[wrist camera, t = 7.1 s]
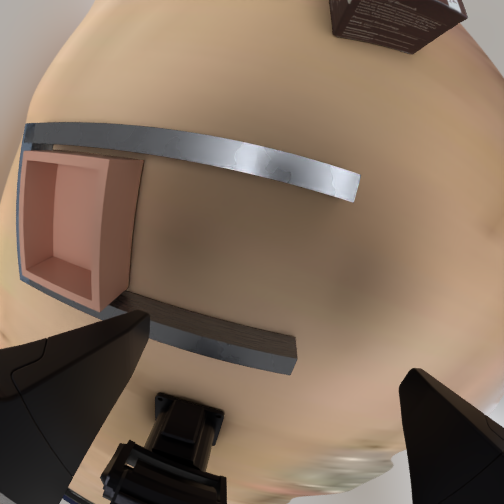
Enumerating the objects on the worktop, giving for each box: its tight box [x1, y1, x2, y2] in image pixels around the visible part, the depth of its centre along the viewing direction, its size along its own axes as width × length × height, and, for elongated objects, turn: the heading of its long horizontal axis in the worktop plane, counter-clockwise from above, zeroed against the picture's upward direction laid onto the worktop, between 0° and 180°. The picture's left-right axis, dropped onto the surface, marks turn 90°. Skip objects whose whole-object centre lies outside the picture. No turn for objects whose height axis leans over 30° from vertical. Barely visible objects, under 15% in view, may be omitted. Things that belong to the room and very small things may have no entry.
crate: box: [19, 150, 144, 312], centre depth 15 cm, size 9×8×4 cm
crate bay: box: [16, 122, 361, 375], centre depth 16 cm, size 13×23×2 cm, turn 76°
